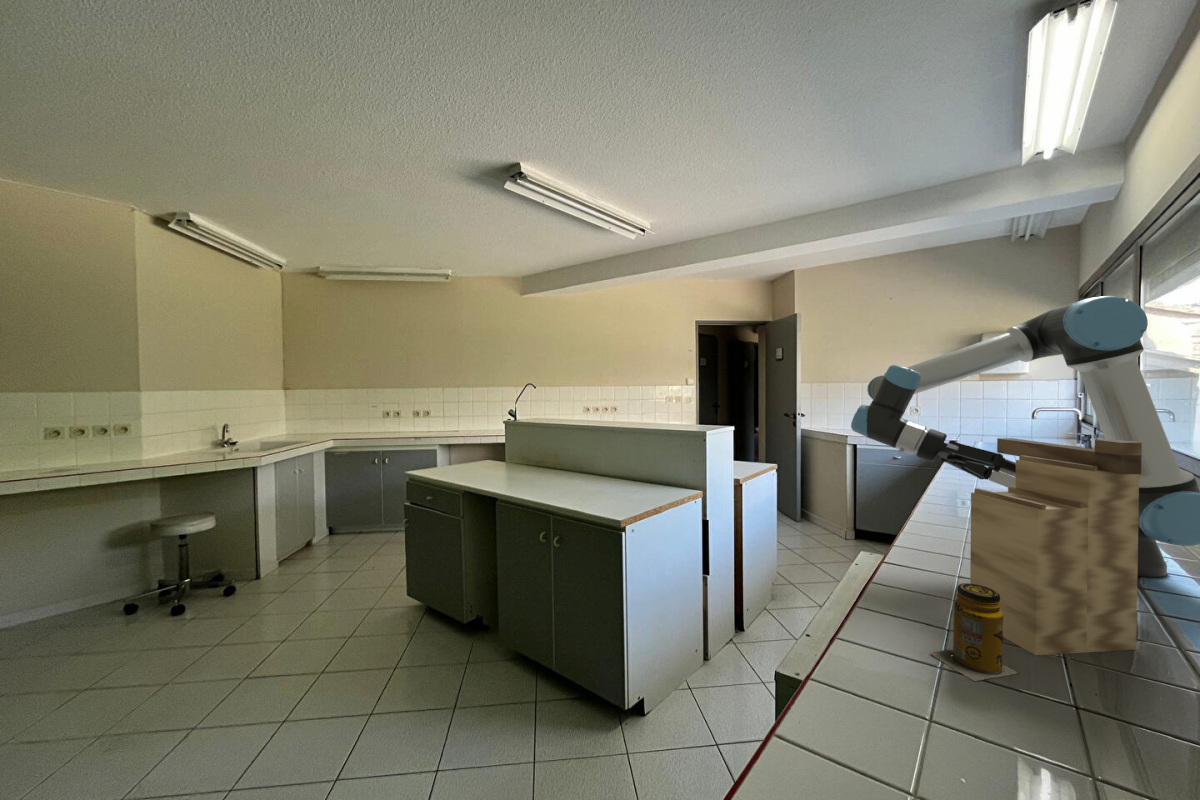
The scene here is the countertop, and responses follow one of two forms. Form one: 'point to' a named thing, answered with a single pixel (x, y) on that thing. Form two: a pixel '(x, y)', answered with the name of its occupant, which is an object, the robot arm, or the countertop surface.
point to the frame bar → (1081, 453)
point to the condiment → (976, 634)
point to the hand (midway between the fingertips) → (1034, 484)
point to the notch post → (1060, 556)
